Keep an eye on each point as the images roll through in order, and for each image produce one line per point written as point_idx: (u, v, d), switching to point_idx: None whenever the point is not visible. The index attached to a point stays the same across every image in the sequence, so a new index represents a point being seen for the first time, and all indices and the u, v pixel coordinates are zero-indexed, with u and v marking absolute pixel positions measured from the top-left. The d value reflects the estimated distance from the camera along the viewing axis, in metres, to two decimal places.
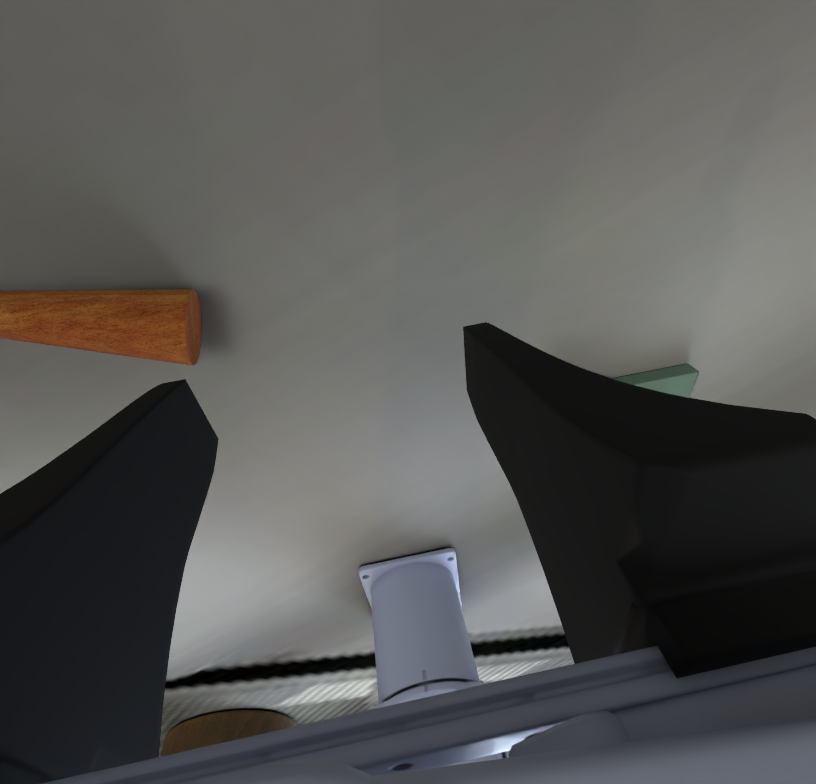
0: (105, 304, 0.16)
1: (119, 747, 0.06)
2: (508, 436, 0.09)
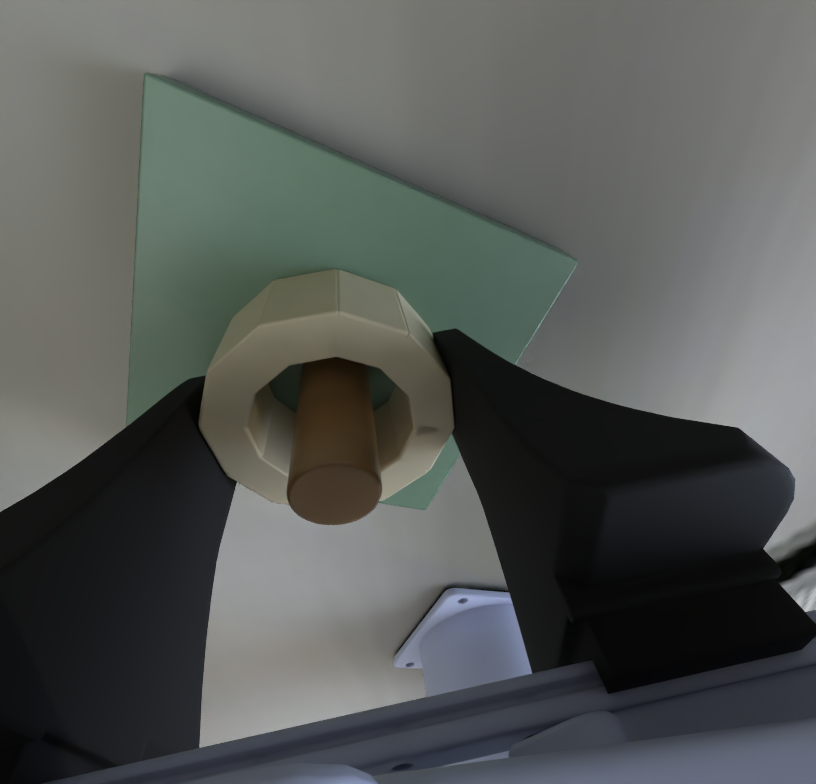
0: None
1: (165, 737, 0.06)
2: (472, 443, 0.09)
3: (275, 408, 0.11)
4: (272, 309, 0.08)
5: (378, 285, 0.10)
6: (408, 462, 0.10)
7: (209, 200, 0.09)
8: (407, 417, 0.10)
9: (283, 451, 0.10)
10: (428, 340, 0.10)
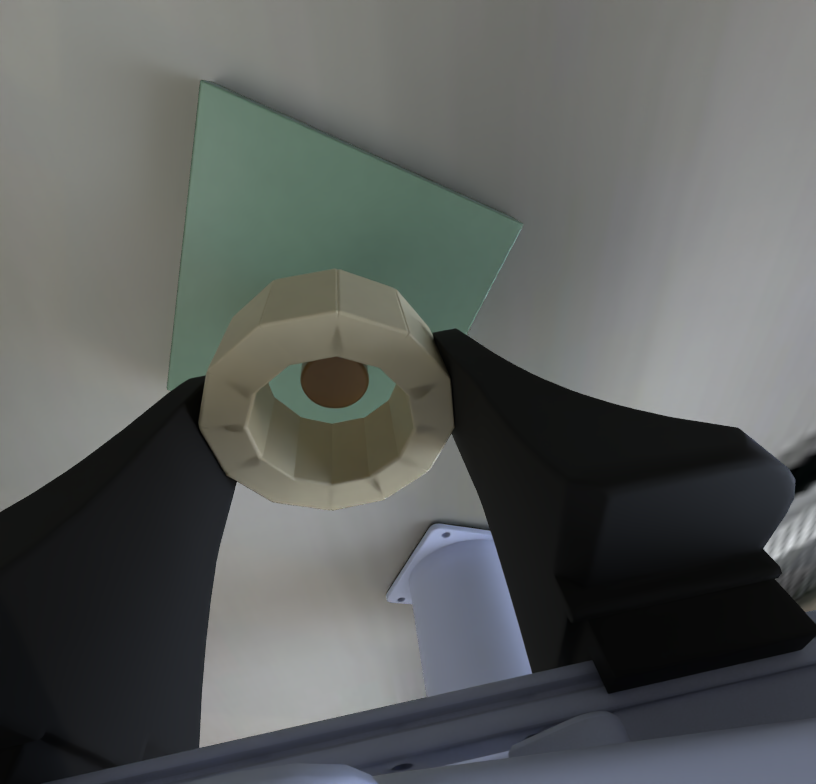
0: None
1: (165, 737, 0.06)
2: (472, 443, 0.09)
3: (275, 408, 0.11)
4: (272, 309, 0.08)
5: (378, 285, 0.10)
6: (408, 462, 0.10)
7: (242, 173, 0.12)
8: (407, 417, 0.10)
9: (283, 451, 0.10)
10: (428, 340, 0.10)
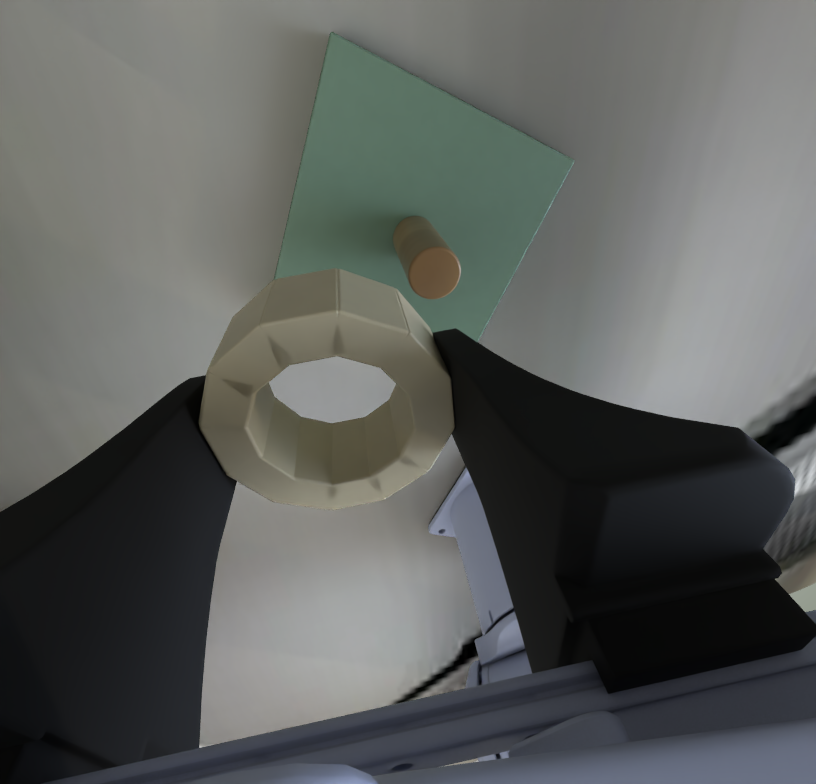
0: None
1: (165, 737, 0.06)
2: (472, 443, 0.09)
3: (275, 408, 0.11)
4: (272, 308, 0.08)
5: (378, 285, 0.10)
6: (408, 461, 0.10)
7: (353, 111, 0.14)
8: (407, 416, 0.10)
9: (283, 450, 0.10)
10: (428, 339, 0.10)
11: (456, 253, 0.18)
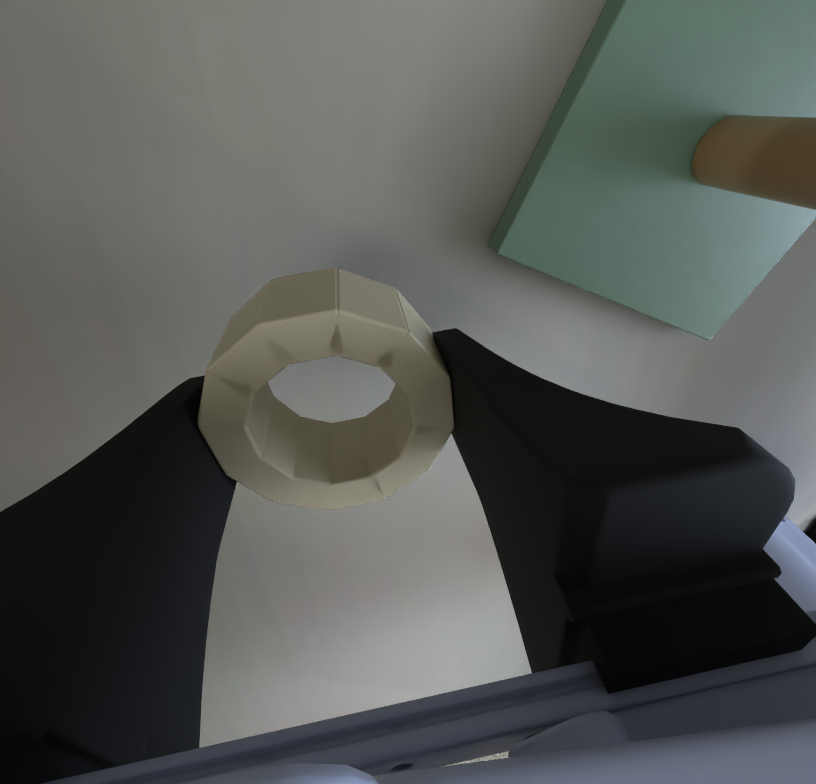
0: None
1: (165, 737, 0.06)
2: (472, 443, 0.09)
3: (274, 407, 0.11)
4: (271, 308, 0.08)
5: (377, 284, 0.10)
6: (408, 461, 0.10)
7: None
8: (407, 416, 0.10)
9: (282, 450, 0.10)
10: (428, 339, 0.09)
11: None
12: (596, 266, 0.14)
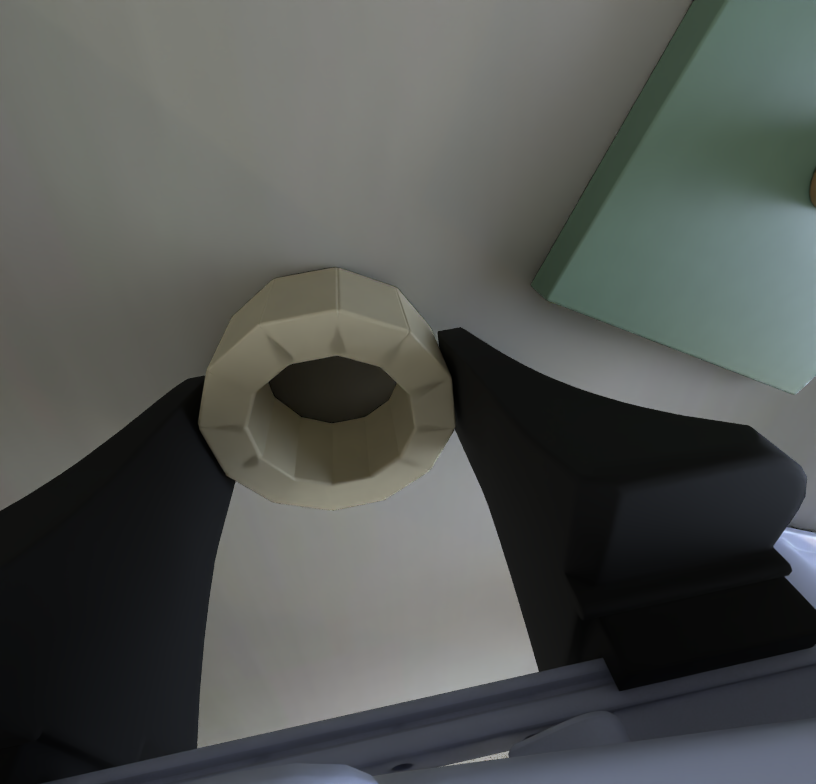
0: None
1: (162, 737, 0.06)
2: (478, 442, 0.09)
3: (275, 408, 0.11)
4: (272, 308, 0.08)
5: (378, 284, 0.10)
6: (409, 461, 0.10)
7: None
8: (408, 416, 0.10)
9: (283, 451, 0.10)
10: (429, 339, 0.09)
11: None
12: (671, 313, 0.11)
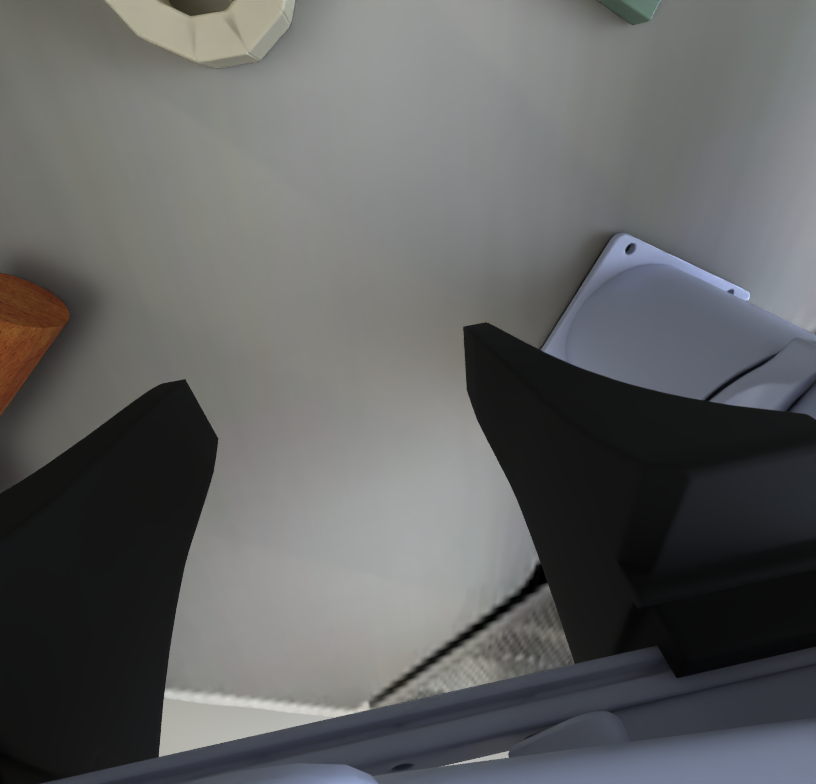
0: None
1: (119, 747, 0.06)
2: (508, 436, 0.09)
3: None
4: None
5: None
6: None
7: None
8: None
9: None
10: None
11: None
12: None
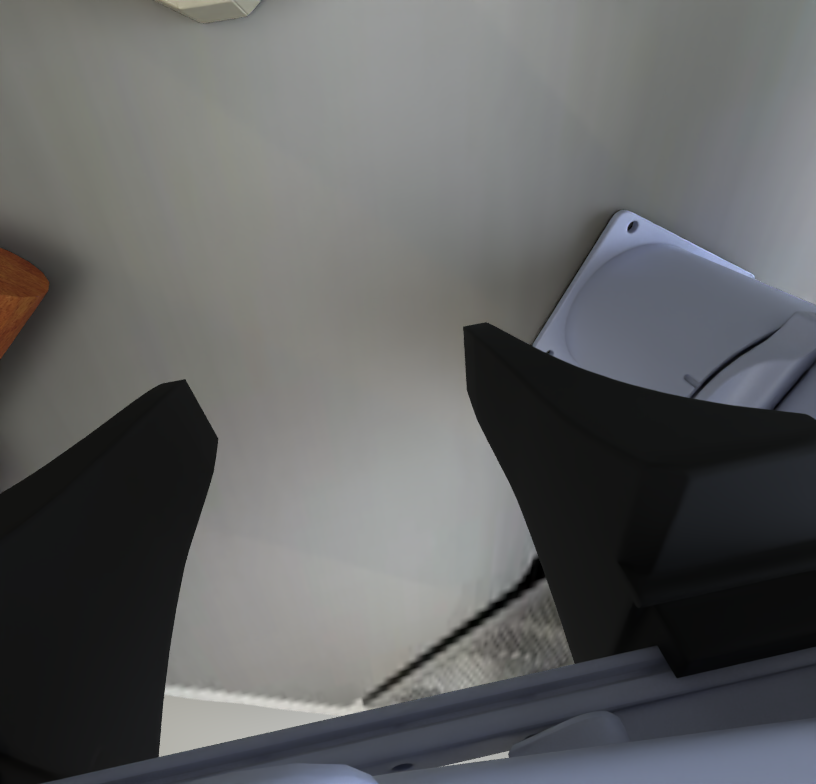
0: None
1: (119, 747, 0.06)
2: (508, 436, 0.09)
3: None
4: None
5: None
6: None
7: None
8: None
9: None
10: None
11: None
12: None
